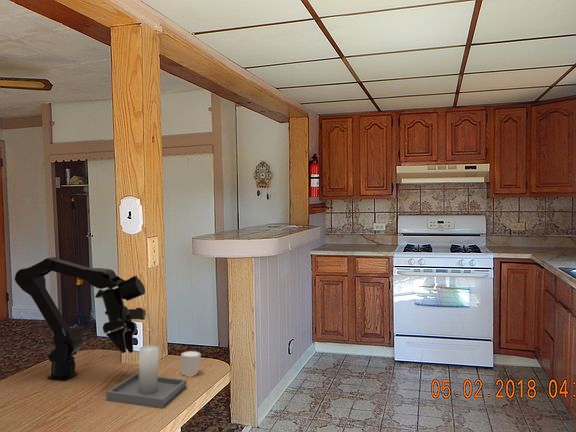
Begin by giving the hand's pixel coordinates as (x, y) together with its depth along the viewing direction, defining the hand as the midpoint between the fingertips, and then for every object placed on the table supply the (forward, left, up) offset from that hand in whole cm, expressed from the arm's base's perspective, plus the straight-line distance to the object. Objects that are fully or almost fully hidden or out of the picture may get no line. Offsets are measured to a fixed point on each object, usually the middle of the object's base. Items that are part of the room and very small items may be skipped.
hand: (128, 352), depth 147 cm
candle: (+10, -4, -9) cm, 14 cm away
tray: (+10, -4, -11) cm, 15 cm away
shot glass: (+15, +16, -11) cm, 24 cm away
